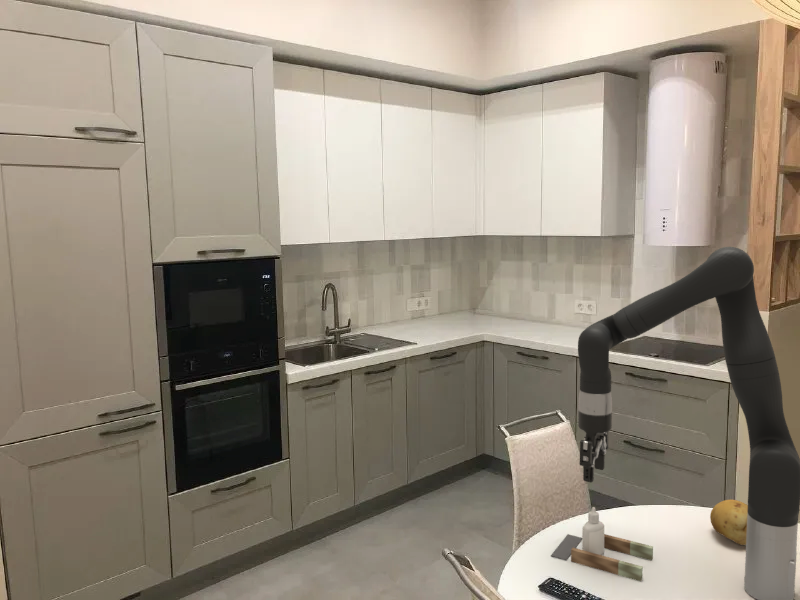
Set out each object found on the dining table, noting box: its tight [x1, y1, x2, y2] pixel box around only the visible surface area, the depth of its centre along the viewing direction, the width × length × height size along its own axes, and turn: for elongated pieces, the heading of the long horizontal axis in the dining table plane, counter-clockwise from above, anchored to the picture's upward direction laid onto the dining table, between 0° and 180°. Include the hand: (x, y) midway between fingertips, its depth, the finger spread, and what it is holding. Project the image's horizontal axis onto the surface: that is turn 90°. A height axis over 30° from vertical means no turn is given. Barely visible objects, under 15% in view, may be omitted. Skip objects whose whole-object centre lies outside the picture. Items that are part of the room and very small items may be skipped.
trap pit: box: [550, 533, 582, 562], centre depth 156 cm, size 4×12×1 cm, turn 146°
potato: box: [709, 499, 748, 546], centre depth 157 cm, size 10×12×10 cm
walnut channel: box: [570, 533, 654, 582], centre depth 149 cm, size 16×11×3 cm
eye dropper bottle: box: [581, 506, 605, 556], centre depth 151 cm, size 4×6×12 cm
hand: (594, 475), depth 150 cm, fingers open, 8 cm apart
